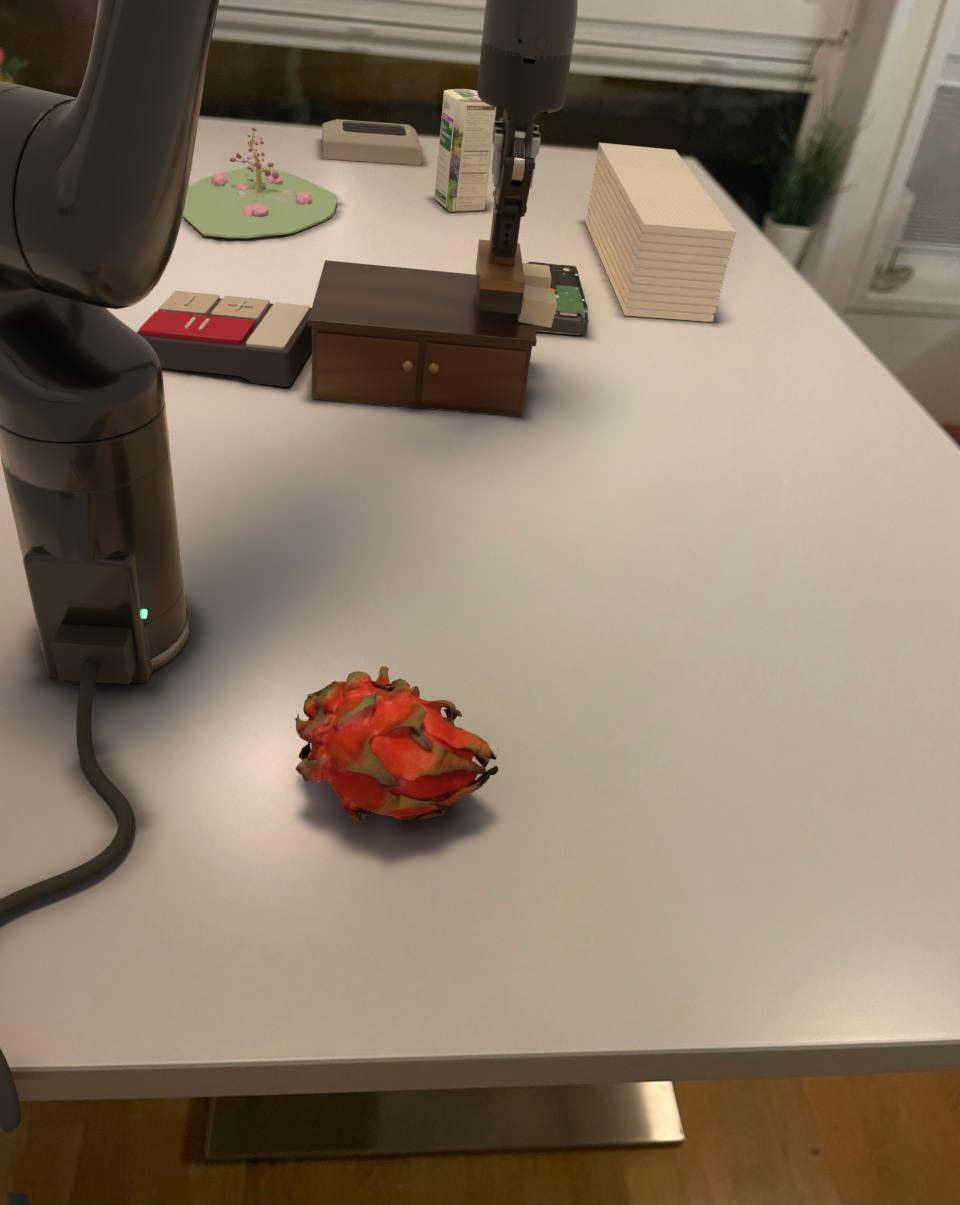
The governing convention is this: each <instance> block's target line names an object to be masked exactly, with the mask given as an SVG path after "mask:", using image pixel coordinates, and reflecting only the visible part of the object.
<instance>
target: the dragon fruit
mask: <svg viewBox="0 0 960 1205" xmlns="http://www.w3.org/2000/svg"><path fill="white" fill-rule="evenodd" d="M389 671H390V670H389V667H387V666H385V665H383V666H380V667H379V672H378V677H377V678H376V680H372V677H371V675H370V674H369V672H366V671H361V670H360V671H353V672H351V673H349V674H348V675H347V678H346V680H344V681H343V680H342V681H336V680H335V681H332V682H331V683H329V684H328V685H325V686H324V687H323V688H321V689H319V690H316V691H314V692H312V693H308V694H307V696H306V697H307V698H306V699H305V700H304V702H303V708H302V711H303V714H304V715H305V716H306V717H307V720H303V719H301V718H300V714H299V713H297V715H296V717H295V718H294V721H295V731H296V734H297V735H298V737H299V738H300V739H301V740H303V741H305V742H307V744H306V745H304V746H302V748H301V750H300V752H299V754H298V758H299V759H300V760H301V761H300V762H298V764H297V765H296V766H295V771H296V772H297V773H298V775H300V776H301V778H302V780H303V781H304V782H305V783H315V782H322V781H326V782H328V784H330V786H331V787H332V789H333V790H334V792H335V793H336V795H337V797H338V798H339V800H340V801H341V806H342V808H343V810H344V811H345V813H346V814H347V815H348V817H349V818H350V820H351V821H353V822H356V823H361V822H362V821H363V820H364V819H366V817H367V816H368V813H367V812H372V813H374V814H378V815H381V816H389V817H393V819H396V820H399V821H402V820H409V822H418V821H421V820H427V819H431V818H434V817H438V816H444V815H445V814H446V813H447V812H448V811H449V806H451V805H452V804H454V803H455V802H457V801H458V800H460V799H461V798H463V797H465V796H467V795H469V794H472V793H474V792H476V791H478V790H479V789H480V788H482V787H483V786H484V785H485V784H486V783H487V782H488V780H490V778H491V776H495V775H497V773H498V772H499V770H500V769H499V766H498V765H495V766H493V767H491V768H489V769H486V768H487V766H488V765H489V763H490V760H492V761H493V760H497V758H498V755H495V753H494V751H493V750H492V749H491V747H490V746H489V743H488V742H487V741H486V740H485V739H483V738H482V737H481V736H480V735H478V734H475V733H473V732H470V731H468V730H466V729H464V728H462V727H459V726H456V724H455V720H456V719H457V717H460V718H462V717H463V713H462V712H461V710H459V709H457V707H456V704H455V703H453V702H452V701H451V700H447V699H437V700H426V699H423V698H420V696H421V694H420V693H421V692H420V689H419V686H417V685H415V686H412V687H411V685H410V683H409V682H408V681H407V680H406V679H403V678H396V679H393V680H392V681H391V682H390V677H389ZM442 708H443V711H444V713H445V716H443V714H442ZM497 747H498V748H497V750H496V751H499V746H497ZM473 759H475V760H476V761H477V762H475V761H474V760H473ZM479 764H480V765H479ZM477 777H478V778H477ZM366 811H367V812H366Z"/></svg>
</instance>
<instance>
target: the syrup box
mask: <svg viewBox="0 0 960 1205" xmlns="http://www.w3.org/2000/svg"><path fill="white" fill-rule="evenodd" d="M496 114H497V108H496V107H493V106H490V105H488V104H486V103H484V102H483V101H482V100H481V99H480V98H479V96H478V94H477V90H474V89H469V88H468V89H467V88H452V89H444V90H443V97H442V108H441V119H440V131H439V142H438V152H437V162H436V175H435V186H434V187H435V188H434V201H437V202H438V203H439V204H440V205H441V206H443V208H445V209H446V210H447V211H448V212H449V213H452V212H454V213H455V212H456V213H457V212H474V211H475V212H476V211H485V209H486V202H487V191H488V184H489V175H490V166H491V157H492V150H493V149H492V148H493V126H494V121H496Z"/></svg>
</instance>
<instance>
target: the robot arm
mask: <svg viewBox="0 0 960 1205" xmlns="http://www.w3.org/2000/svg"><path fill="white" fill-rule="evenodd" d="M578 2H579V1H578V0H485V5H484V14H483V24H482V25H483V26H482V35H481V46H480V57H479V68H478V77H477V78H478V79H477V89H476V91H477V94H478V96H479V98H480V99H481V100H482V101H483V102H484V103H486V104H488V105H490V106H493V107H496V109H499V108H501V109H503V113H502V117H499V120H495V121H494V126H493V141H492V147H493V152H492V161H491V174H492V184H493V187H494V189H493V190H492V197H493V201H494V200H495V191H496V189H497V198H496V204H494V203H493V208H494V210H495V214H496V216H495V225H494V234H493V243H492V253H493V255H495V256H498V257H509V258H512V257H514V256H515V255H516V249H517V242H519V236H518V234H519V235H520V228H519V226H520V227H521V221H520V218H521V219H522V218H524V217H525V216H526V213H527V212H528V211H527V210H528V206H527V205H528V200H529V195H530V190H531V189H532V188H533V181H534V173H535V169H536V157H537V156H538V155H539V153H540V146H541V140H542V139H541V138H542V133H540V132H539V129H540V125H537V124H535V118H536V116H537V115H538V114H541V113H544V114H551V113H555V112H558V111H560V110H561V109H562V108H563V107H564V106H565V104H566V98H567V97H566V96H567V90H568V83H569V78H570V77H569V76H570V69H571V63H572V55H573V48H574V42H575V35H576V28H577V22H578V21H577V19H578V6H579V5H578V4H579V3H578ZM219 4H220V0H98V3H97V11H96V19H95V26H94V31H93V37H92V43H91V47H90V52H89V56H88V61H87V67H86V69H85V74H84V76H83V81H82V84H81V87H80V90H79V92H78V94H77V97H75V96H71V95H66V94H61V93H58V92H52V91H48V90H45V89H41V88H40V89H39V88H35V87H31V86H26V85H21V84H17V83H12V82H7V81H2V80H1V81H0V462H1V466H2V471H3V475H4V480H5V484H6V489H7V494H8V497H9V504H10V507H11V512H12V517H13V520H14V521H13V522H14V525H15V526H14V527H15V530H16V536H17V538H18V543H19V547H20V552H21V556H22V557H21V558H22V564H23V569H24V573H25V577H26V582H27V587H28V590H29V596H30V601H31V604H32V609H33V614H34V618H35V623H36V627H37V635H38V640H39V644H40V650H41V652H42V654H43V658H44V663H45V667H46V671H47V676H48V677H49V678H57V679H58V680H60V681H72V682H80V684H79V689H78V694H77V703H76V717H75V718H76V724H75V725H76V727H75V730H76V731H75V732H76V737H75V738H76V746H77V752H78V757H79V760H80V764H81V766H82V769H83V771H84V773H85V775H86V777H87V778H88V780H89V782H90V783H91V784H92V786H93V787H94V789H96V791H97V792H98V793H99V794H100V795H101V796H102V797H103V798H104V799H105V800H106V802H108V804H109V805H110V806H111V807H112V808H113V810H114V811H115V813H116V815H117V820H118V822H117V824H118V825H117V830H116V833H115V835H114V837H113V838H112V840H111V842H110V844H108V845H107V847H106V848H104V849H103V850H102V851H101V852H100V853H98V854H97V855H96V856H94V857H93V858H91V859H90V860H88V861H86V862H84V863H82V864H80V865H78V866H76V867H74V868H72V869H69V870H66V871H65V872H62V873H60V874H57V875H54V876H52V877H49V878H47V879H44V880H41V881H39V882H36V883H34V884H31V885H28V886H26V887H23V888H21V889H18V890H15V891H14V892H12V893H10V894H8V895H6V896H4V897H1V898H0V920H1V919H2V918H4V917H6V916H8V915H9V914H11V913H14V912H16V911H17V910H19V909H22V908H23V907H26V906H28V905H31V904H33V903H35V902H38V901H40V900H44V899H46V898H48V897H51V896H54V895H56V894H59V893H62V892H64V891H66V890H69V889H72V888H73V887H76V886H79V885H81V884H83V883H85V882H87V881H89V880H91V879H92V878H94V877H96V876H98V875H99V874H101V873H102V872H104V871H106V869H108V868H110V867H111V866H112V865H113V864H114V863H115V862H116V861H117V860H118V859H119V858H121V856H123V854H124V853H125V850H126V848H127V847H128V846H129V844H130V841H131V840H132V837H133V834H134V831H135V828H136V826H135V824H136V822H135V821H136V816H135V813H134V810H133V808H132V806H131V803H130V802H129V800H128V798H127V797H126V796H125V795H124V794H123V793H122V792H121V791H120V789H119V788H118V787H117V786H116V785H115V784H114V783H113V782H112V781H111V780H110V779H109V777H108V776H107V774H105V773H104V771H103V770H102V768H101V767H100V764H99V762H98V761H97V757H96V754H95V749H94V744H93V734H92V730H93V729H92V728H93V727H92V726H93V724H92V723H93V721H92V719H93V702H94V695H95V690H96V685H97V684H96V683H104V684H117V685H118V684H120V685H130V684H131V683H138V684H144V683H147V682H148V681H149V679H150V676H151V674H152V673H153V671H155V670H157V669H158V668H160V667H162V666H164V665H166V664H167V663H168V662H170V661H171V660H172V659H173V658H174V657H175V656H177V655H178V654H179V653H180V651H181V650H182V649H183V648H184V646H185V644H186V642H187V641H188V638H189V634H190V618H189V617H190V616H189V612H188V607H187V605H186V604H187V603H186V595H185V594H186V593H185V584H184V576H183V566H182V557H181V556H182V555H181V548H180V547H181V546H180V537H179V536H180V535H179V526H178V516H177V508H176V498H175V487H174V477H173V467H172V459H171V458H172V457H171V447H170V445H171V444H170V434H169V423H168V414H167V405H166V394H165V384H164V376H163V368H161V364H160V361H159V358H158V356H157V354H156V352H155V351H154V349H153V348H152V347H151V345H150V344H149V343H148V342H147V341H146V340H145V339H144V338H142V337H141V336H140V335H139V334H138V333H137V331H135V330H134V329H132V328H131V327H130V326H128V325H127V324H126V323H124V322H123V321H122V320H121V319H119V317H117V316H115V314H114V313H112V312H111V311H110V310H109V309H111V310H122V309H125V308H126V309H127V308H131V307H133V306H136V305H137V304H138V303H140V302H141V301H143V300H144V299H146V297H148V296H149V295H150V294H151V292H152V291H153V290H154V288H155V287H156V286H157V285H158V284H159V283H160V280H161V279H162V276H163V275H164V273H165V271H166V269H167V267H168V265H169V262H170V260H171V259H172V255H173V253H174V250H175V247H176V244H177V240H178V237H179V233H180V229H181V226H182V222H183V218H184V217H183V212H184V207H185V203H186V197H187V191H188V187H189V186H190V185H189V184H190V180H191V172H192V166H193V160H194V155H195V146H196V140H197V133H198V126H199V120H200V113H201V106H202V100H203V94H204V87H205V81H206V80H205V79H206V76H207V68H208V63H209V57H210V52H211V45H212V40H213V33H214V29H215V25H216V19H217V14H218V8H219ZM506 196H516V197H519V198H518V201H515V200H505V197H506ZM20 1107H21V1106H20V1101H19V1096H18V1091H17V1086H16V1084H15V1081H14V1076H13V1072H12V1070H11V1068H10V1066H9V1063H8V1061H7V1057H6V1055H5V1054H4V1052H3V1050H2V1048H1V1047H0V1128H1V1129H2V1131H4V1133H12V1132H14V1131H15V1130H17V1129H18V1128H19V1126H20V1124H21V1121H22V1113H21V1108H20ZM6 1195H7V1200H8V1205H32V1202H31V1201H32V1200H31V1198H30V1195H29V1194H26V1193H20V1192H14V1191H6Z"/></svg>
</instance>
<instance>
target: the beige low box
mask: <svg viewBox="0 0 960 1205" xmlns="http://www.w3.org/2000/svg"><path fill="white" fill-rule="evenodd" d="M321 127H322V130H321V132H322V134H321V135H322V136H321V138H322V139H321V141H322V142H321V143H322V145H321V146H322V158H323V159H324V160H337V161H338V160H339V161H352V162H367V163H380V164H394V165H396V164H397V165H407V166H408V165H410V166H422V161H423V149H422V146H421V142H420V140H419V136H418V133H417V130H416V129H415V128H414V127H412V125H410V124H404V123H393V122H378V121H366V120H365V121H364V120H350V119H340V118H339V119H338V118H336V119H333V120H329V121H326V122H323V123H322V126H321Z"/></svg>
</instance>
